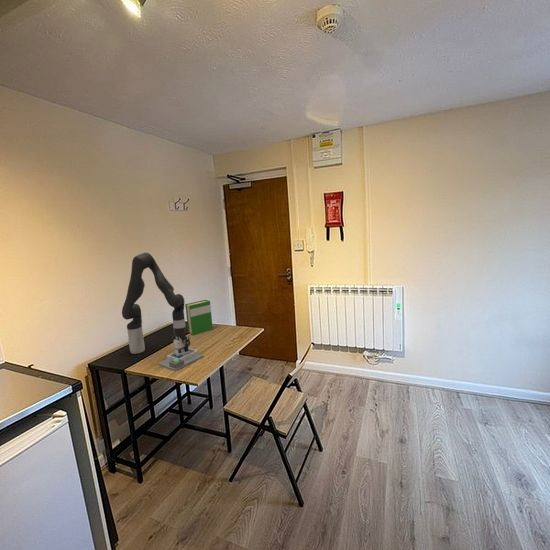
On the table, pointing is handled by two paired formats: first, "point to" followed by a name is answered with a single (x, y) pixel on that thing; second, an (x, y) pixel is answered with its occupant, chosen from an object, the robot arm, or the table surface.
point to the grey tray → (180, 360)
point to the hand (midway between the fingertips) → (182, 350)
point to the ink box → (180, 349)
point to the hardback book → (199, 317)
